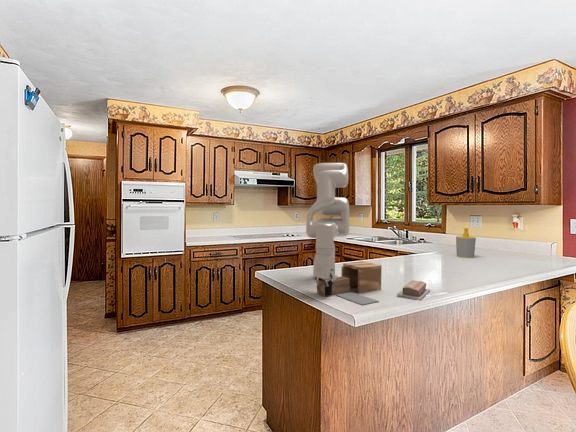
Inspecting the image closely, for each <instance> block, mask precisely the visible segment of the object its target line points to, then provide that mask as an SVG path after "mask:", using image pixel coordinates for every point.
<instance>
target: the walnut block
mask: <svg viewBox="0 0 576 432" xmlns="http://www.w3.org/2000/svg"><path fill="white" fill-rule="evenodd" d="M349 280H350V279H349V278H346V277H342V276H338V277H336V281H335V282H334V283H333V286H332V295H327V296H326V295H325V286H326V281H325V280H324V279H322V280H317V283H316V293H317V295H319V296H322V297H329V296H336V295H337V294H343V293H349V292H350V287H349ZM329 281H330V280H328V282H329Z"/></svg>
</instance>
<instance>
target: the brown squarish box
mask: <svg viewBox="0 0 576 432" xmlns="http://www.w3.org/2000/svg"><path fill="white" fill-rule="evenodd" d="M382 268H383V267H382V265H381V264H376V263H372V262H367V261H364V260H361V261H354V262H345V263H344V262H343V263H342V265H341V277H346V278H349V279H350V280H349V288H350V287H356V286H357V294H364V293H370V292H375V291H380V290H382Z"/></svg>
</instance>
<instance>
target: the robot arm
mask: <svg viewBox="0 0 576 432" xmlns="http://www.w3.org/2000/svg"><path fill="white" fill-rule="evenodd" d="M312 169H313V170H312V172H313V177H314V180H315V183H316V201H315V202H314V203H312V205H311V206H310V207H309V210H308V211H307V215H306V228H305V230H306V231H305V232H306V235H307V237H308V238H312V239H316V240H315V255H314V259H313V267H312V268H313V271H312V272H313V279H314V280H315V281H316V284H317V280H322V279H324V280H325V281H326V286H325V295H326V296H325V297H328V296H327V295H330V296H333V295H332V286H333V283H334V282H335V281H336V277H339V276H338V275H336V266H335V265H336V246H335V242H334V241H335V238H337V237H341V238H342V237H347V236H348V235H349V233H350V202H349V200H348V199H347V198H346V197H343V196H341V197H339V196H336V188H343V189H344V188H346V187H347V186H348V184H349V168H348V164H347V163H345V162H321V163H320V162H319V163H316V164H314V165H313V168H312ZM317 212H318V213H319V214H320V215H322V216H333V217H321V218H319V219H317V220H316V221H313V220H314V219H313V218H314V216H315V214H316V213H317ZM334 216H337V217H336V218H334ZM338 216H339V217H340V218H339V217H338ZM328 280H330V281H329V282H328Z"/></svg>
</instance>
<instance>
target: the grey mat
mask: <svg viewBox="0 0 576 432" xmlns="http://www.w3.org/2000/svg"><path fill="white" fill-rule="evenodd" d="M335 296H337V297H339V298H341V299H344V300H346V301H349V302H352V303H354V304H357V305H360V306H367V305H370V304H371V305H372V304H375V303H379V302H380V301H379V300H376V299H374V298H371V297H368V296H365V295H362V294H360V293H356V292H354V291H349V292H346V293H341V294H335Z"/></svg>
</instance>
